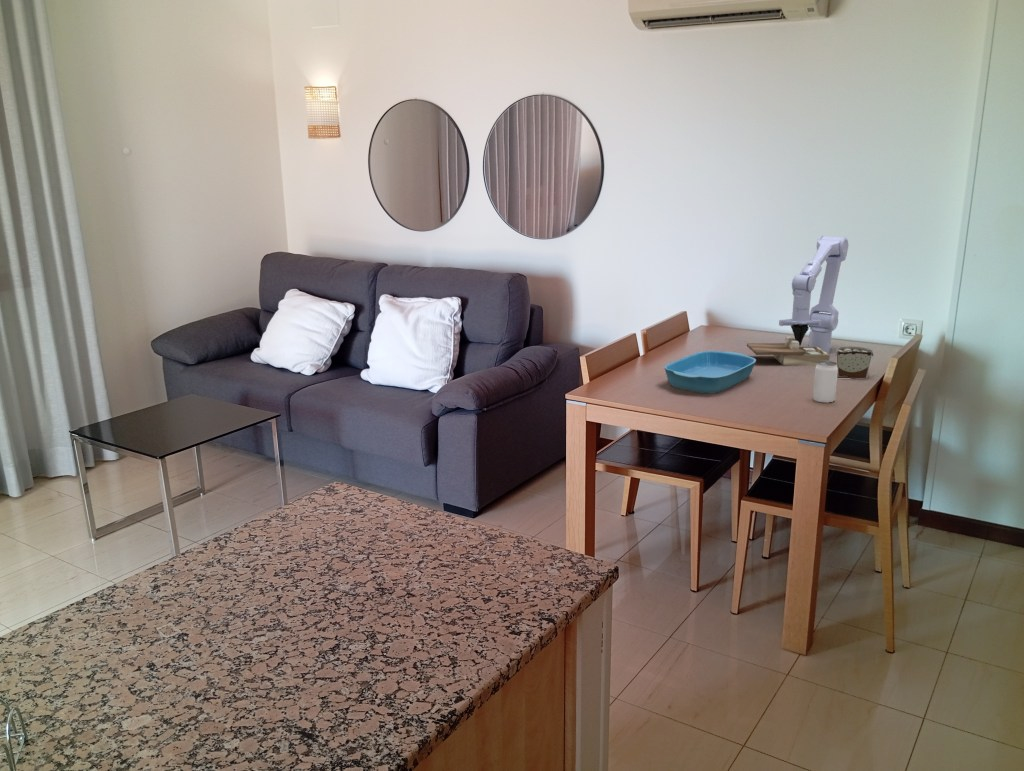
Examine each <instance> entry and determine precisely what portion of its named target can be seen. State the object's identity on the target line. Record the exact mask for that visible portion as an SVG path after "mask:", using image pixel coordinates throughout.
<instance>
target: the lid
mask: <svg viewBox="0 0 1024 771" xmlns="http://www.w3.org/2000/svg"><path fill="white" fill-rule="evenodd" d="M784 340H785V341H784V342H778V343H776V342H775V343H774V342H773V343H772V342H765V343H763V342H761V343H756V342H755V343H753V342H752V343H749V342H748V343H746V347H747V348H748V349H749V350H751V351H752V352H753V353H754V354H755V355H756V356H773V355H804V353H805V352H804V351H803V350H801V349H800V348H799V347H800V346H799V342H798V341H797V340H795V337H793V336H785V339H784Z"/></svg>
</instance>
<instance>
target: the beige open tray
mask: <svg viewBox="0 0 1024 771" xmlns="http://www.w3.org/2000/svg"><path fill="white" fill-rule="evenodd" d="M799 348H800V349H801V350H803V348H814V349H815V350H816V352H818V353H821V354H817V355H772V356H773V358H774V359H775V360H776V361H777V362H779V363H780V364H781V365H782V366H817V364H818V363H817V362H819V361H830V354H829V353H826V352H824V351H823V350H822V349H820V348H819V347H808V346H799Z"/></svg>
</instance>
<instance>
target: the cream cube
mask: <svg viewBox="0 0 1024 771" xmlns="http://www.w3.org/2000/svg"><path fill="white" fill-rule="evenodd" d="M803 351H804V352H805V353H804V355H806V353H807V352H814V351H816V350H815V349H814V348H803Z"/></svg>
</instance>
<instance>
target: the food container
mask: <svg viewBox="0 0 1024 771" xmlns="http://www.w3.org/2000/svg"><path fill="white" fill-rule="evenodd" d="M834 355H835V357H836V363H837V368H838V373H837V377H838V378H852V380H854V379H853V378H858V379H859V380H867V378H868V374H869V370H870V364H871V361H872V357H874V352H873V349H871V348H867V347H861V346H852V345H851V346H848V345H847V346H839V347H837V349H836V351H835V354H834ZM838 378H837V379H838ZM858 379H857V380H858Z"/></svg>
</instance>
